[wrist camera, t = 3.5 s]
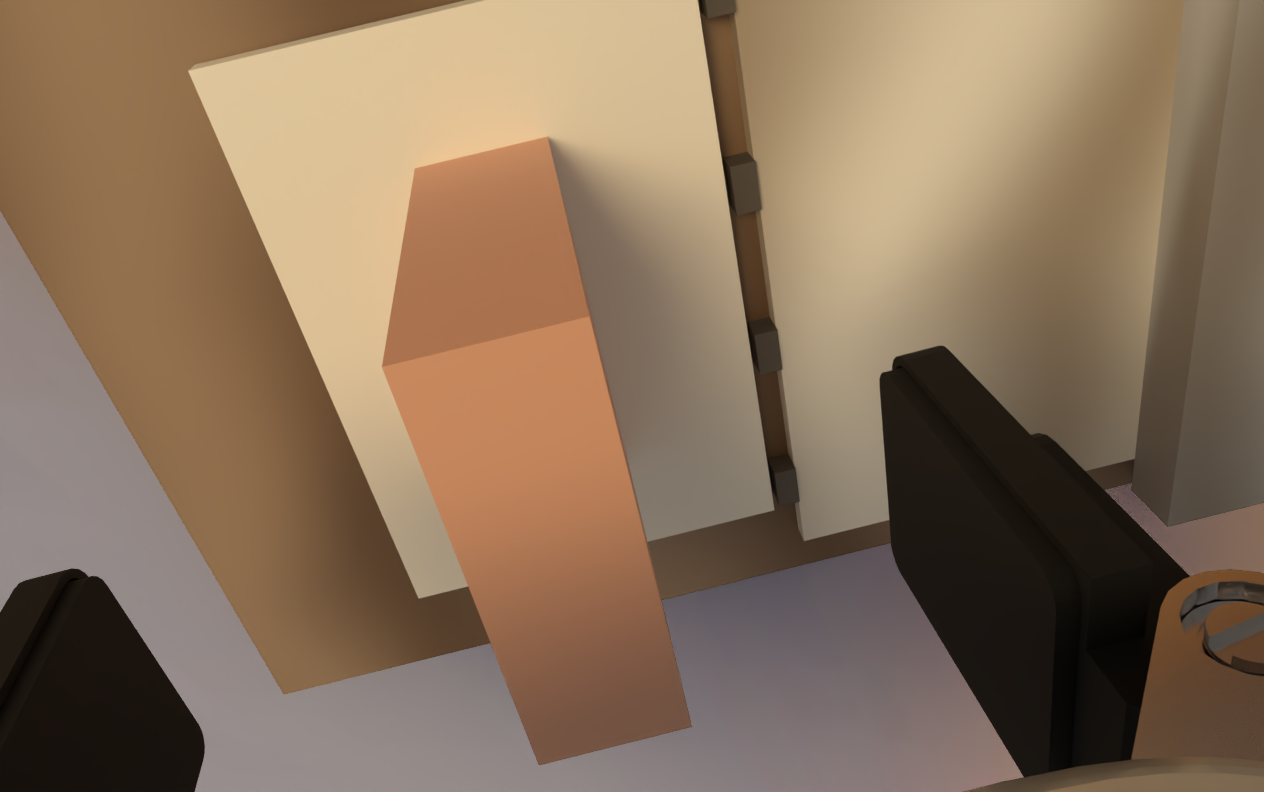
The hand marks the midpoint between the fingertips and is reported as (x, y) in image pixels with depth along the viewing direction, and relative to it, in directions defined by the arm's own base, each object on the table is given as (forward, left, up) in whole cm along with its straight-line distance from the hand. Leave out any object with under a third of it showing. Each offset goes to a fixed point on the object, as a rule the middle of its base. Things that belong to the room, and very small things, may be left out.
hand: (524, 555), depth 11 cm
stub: (0, 0, -6) cm, 6 cm away
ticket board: (-5, 0, -7) cm, 9 cm away
